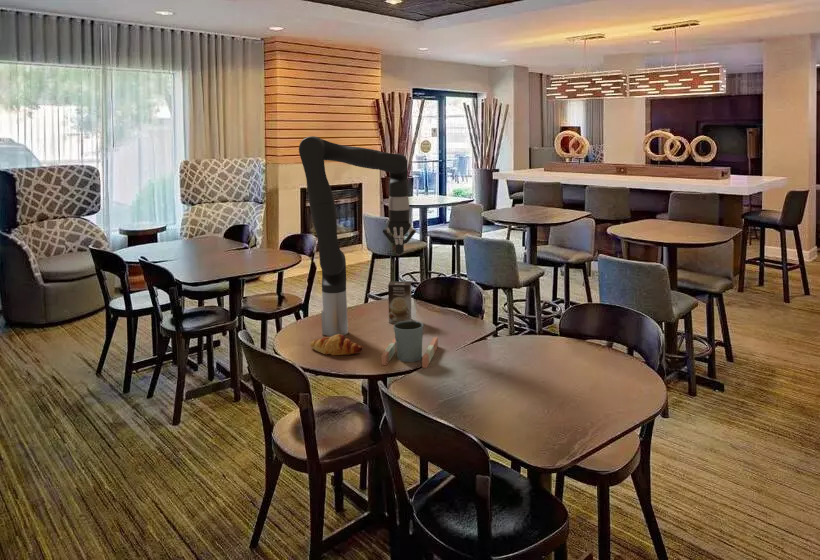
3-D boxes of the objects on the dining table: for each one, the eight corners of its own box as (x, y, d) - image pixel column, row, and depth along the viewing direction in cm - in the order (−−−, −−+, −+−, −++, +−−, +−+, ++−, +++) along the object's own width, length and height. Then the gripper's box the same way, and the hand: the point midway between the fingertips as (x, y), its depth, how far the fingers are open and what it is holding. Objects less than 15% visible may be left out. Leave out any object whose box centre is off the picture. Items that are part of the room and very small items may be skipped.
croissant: (307, 360, 243) (300, 344, 238) (318, 340, 250) (312, 324, 245) (360, 365, 235) (354, 349, 230) (370, 344, 242) (364, 329, 237)
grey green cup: (428, 355, 235) (427, 322, 233) (417, 364, 226) (416, 330, 224) (401, 351, 239) (400, 319, 236) (389, 361, 230) (388, 327, 227)
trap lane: (381, 365, 226) (381, 355, 225) (396, 344, 247) (396, 335, 246) (426, 367, 223) (426, 357, 222) (438, 346, 244) (437, 337, 243)
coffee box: (388, 323, 273) (387, 284, 270) (390, 318, 279) (389, 281, 276) (410, 323, 272) (409, 285, 269) (412, 319, 279) (411, 281, 275)
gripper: (379, 209, 247) (380, 255, 251) (414, 209, 245) (415, 256, 249) (384, 206, 255) (385, 251, 259) (418, 207, 252) (419, 252, 256)
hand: (399, 254), depth 254 cm, fingers closed
